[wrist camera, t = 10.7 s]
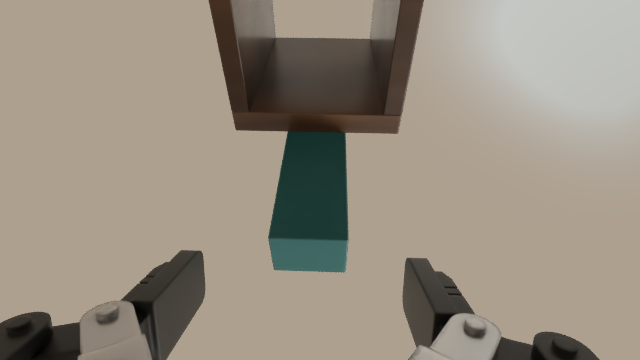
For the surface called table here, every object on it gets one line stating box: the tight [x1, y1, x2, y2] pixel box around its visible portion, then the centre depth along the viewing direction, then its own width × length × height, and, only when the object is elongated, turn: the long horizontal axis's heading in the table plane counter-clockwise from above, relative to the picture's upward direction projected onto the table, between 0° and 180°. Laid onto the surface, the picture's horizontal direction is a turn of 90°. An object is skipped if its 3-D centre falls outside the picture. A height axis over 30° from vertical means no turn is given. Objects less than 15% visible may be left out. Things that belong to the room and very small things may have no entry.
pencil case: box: [268, 131, 348, 272], centre depth 26 cm, size 22×4×3 cm, turn 2°
